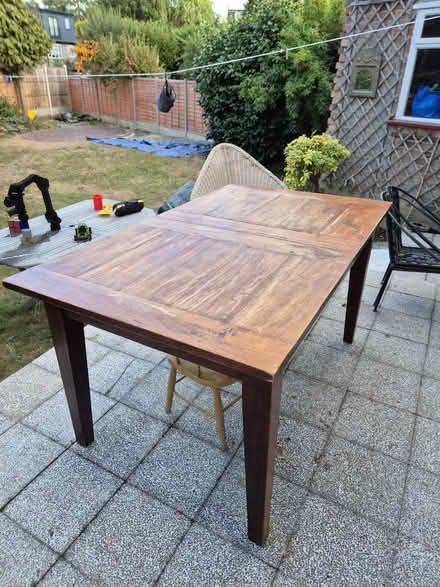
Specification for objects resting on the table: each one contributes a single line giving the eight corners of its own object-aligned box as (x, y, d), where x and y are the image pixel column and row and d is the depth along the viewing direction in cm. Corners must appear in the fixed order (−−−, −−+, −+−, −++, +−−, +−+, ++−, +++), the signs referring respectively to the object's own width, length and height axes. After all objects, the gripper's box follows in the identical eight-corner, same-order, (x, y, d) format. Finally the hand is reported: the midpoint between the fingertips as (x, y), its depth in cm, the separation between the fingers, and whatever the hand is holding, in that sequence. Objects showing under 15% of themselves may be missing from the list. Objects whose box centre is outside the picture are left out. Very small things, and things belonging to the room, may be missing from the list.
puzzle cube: (22, 234, 291) (18, 221, 286) (10, 233, 293) (6, 220, 288) (30, 230, 299) (27, 217, 295) (18, 229, 301) (15, 216, 297)
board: (47, 234, 290) (47, 233, 289) (51, 242, 276) (50, 241, 275) (20, 239, 282) (20, 237, 282) (22, 247, 268) (22, 245, 268)
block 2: (33, 240, 277) (32, 234, 275) (35, 243, 272) (33, 237, 269) (23, 242, 274) (21, 235, 272) (24, 245, 269) (22, 238, 266)
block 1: (31, 234, 274) (30, 228, 272) (32, 237, 270) (30, 230, 268) (22, 236, 272) (21, 229, 270) (23, 238, 267) (22, 232, 265)
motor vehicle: (74, 242, 278) (72, 227, 273) (76, 233, 294) (73, 219, 289) (91, 240, 280) (89, 226, 276) (92, 231, 297) (90, 218, 292)
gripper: (5, 202, 264) (10, 224, 271) (7, 208, 249) (13, 232, 257) (23, 199, 269) (28, 222, 276) (26, 206, 254) (31, 229, 261)
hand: (25, 226), depth 267 cm, fingers open, 4 cm apart
